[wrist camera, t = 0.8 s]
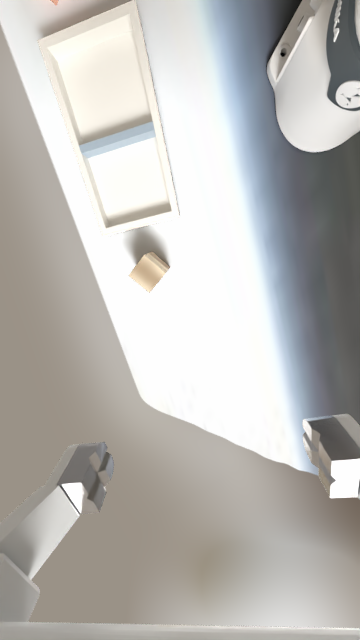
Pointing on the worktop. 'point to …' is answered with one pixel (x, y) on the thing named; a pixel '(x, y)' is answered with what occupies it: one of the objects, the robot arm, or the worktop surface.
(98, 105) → the divided tray
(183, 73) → the worktop surface
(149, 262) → the block
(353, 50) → the robot arm
